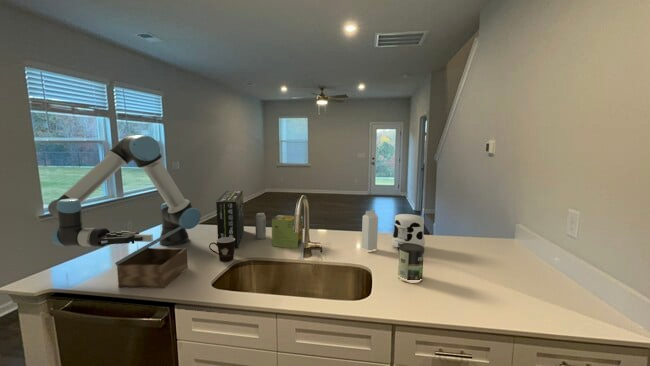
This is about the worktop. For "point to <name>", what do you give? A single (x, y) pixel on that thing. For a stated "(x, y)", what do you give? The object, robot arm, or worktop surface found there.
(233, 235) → the router box
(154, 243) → the lid
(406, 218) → the milk container
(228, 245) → the coffee mug
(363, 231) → the milk
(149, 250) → the walnut box
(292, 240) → the protein box
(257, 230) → the energy drink can
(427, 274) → the worktop surface
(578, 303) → the worktop surface
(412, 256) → the coffee can
